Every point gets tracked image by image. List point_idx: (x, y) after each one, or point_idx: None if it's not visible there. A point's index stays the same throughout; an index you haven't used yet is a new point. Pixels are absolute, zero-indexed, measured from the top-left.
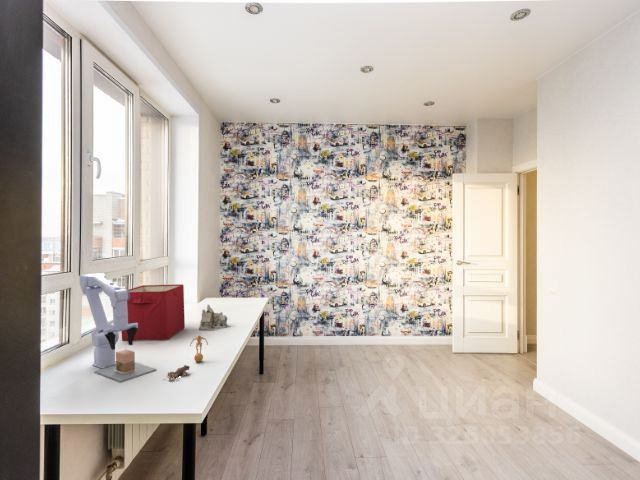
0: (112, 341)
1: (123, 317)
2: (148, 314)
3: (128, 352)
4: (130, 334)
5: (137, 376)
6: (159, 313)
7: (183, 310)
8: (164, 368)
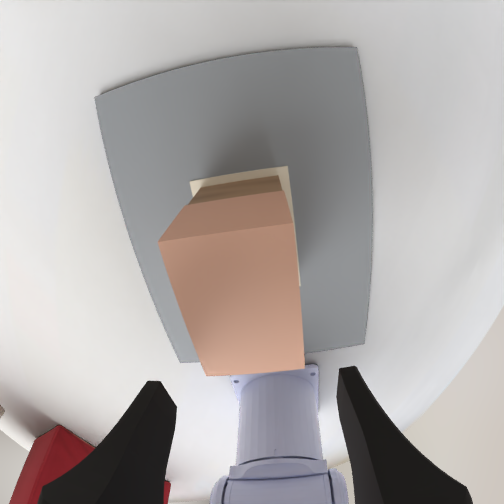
0: (401, 440)
1: None
2: None
3: (221, 263)
4: (131, 487)
5: (229, 59)
6: None
7: (21, 472)
8: (60, 104)
